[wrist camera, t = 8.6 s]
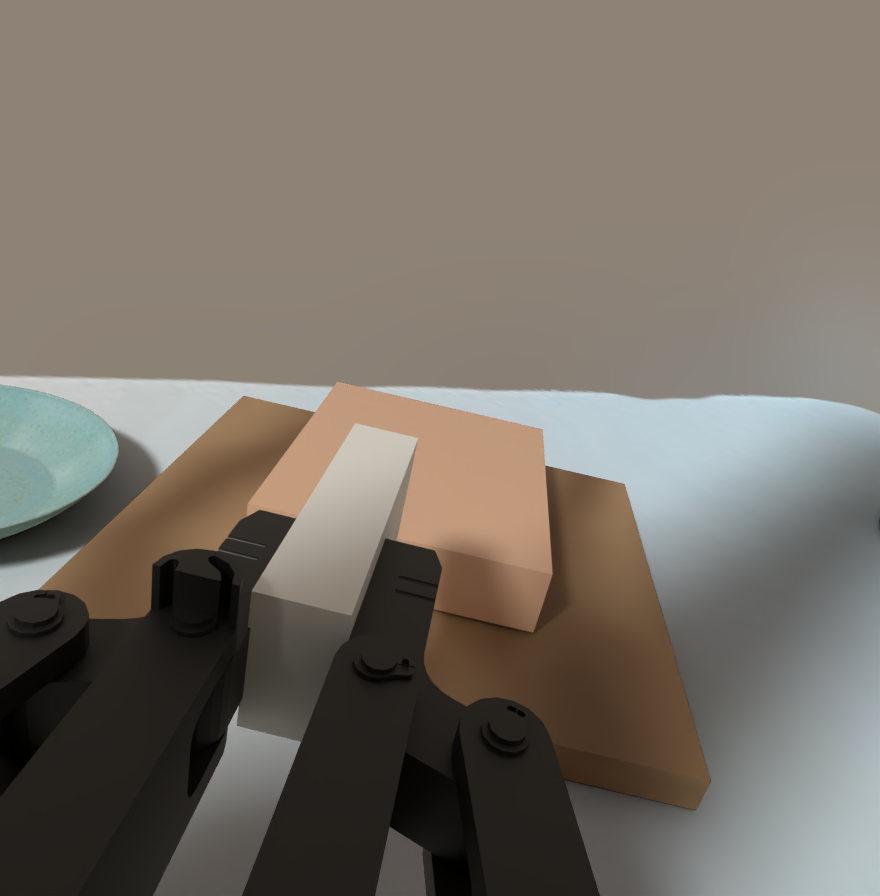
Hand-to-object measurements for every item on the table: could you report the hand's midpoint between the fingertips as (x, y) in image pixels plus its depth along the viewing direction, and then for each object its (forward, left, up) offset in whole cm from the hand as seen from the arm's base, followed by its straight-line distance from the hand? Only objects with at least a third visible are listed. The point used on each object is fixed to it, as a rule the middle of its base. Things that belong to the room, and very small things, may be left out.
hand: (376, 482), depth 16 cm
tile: (-1, -4, -5) cm, 7 cm away
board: (-1, -9, -8) cm, 12 cm away
